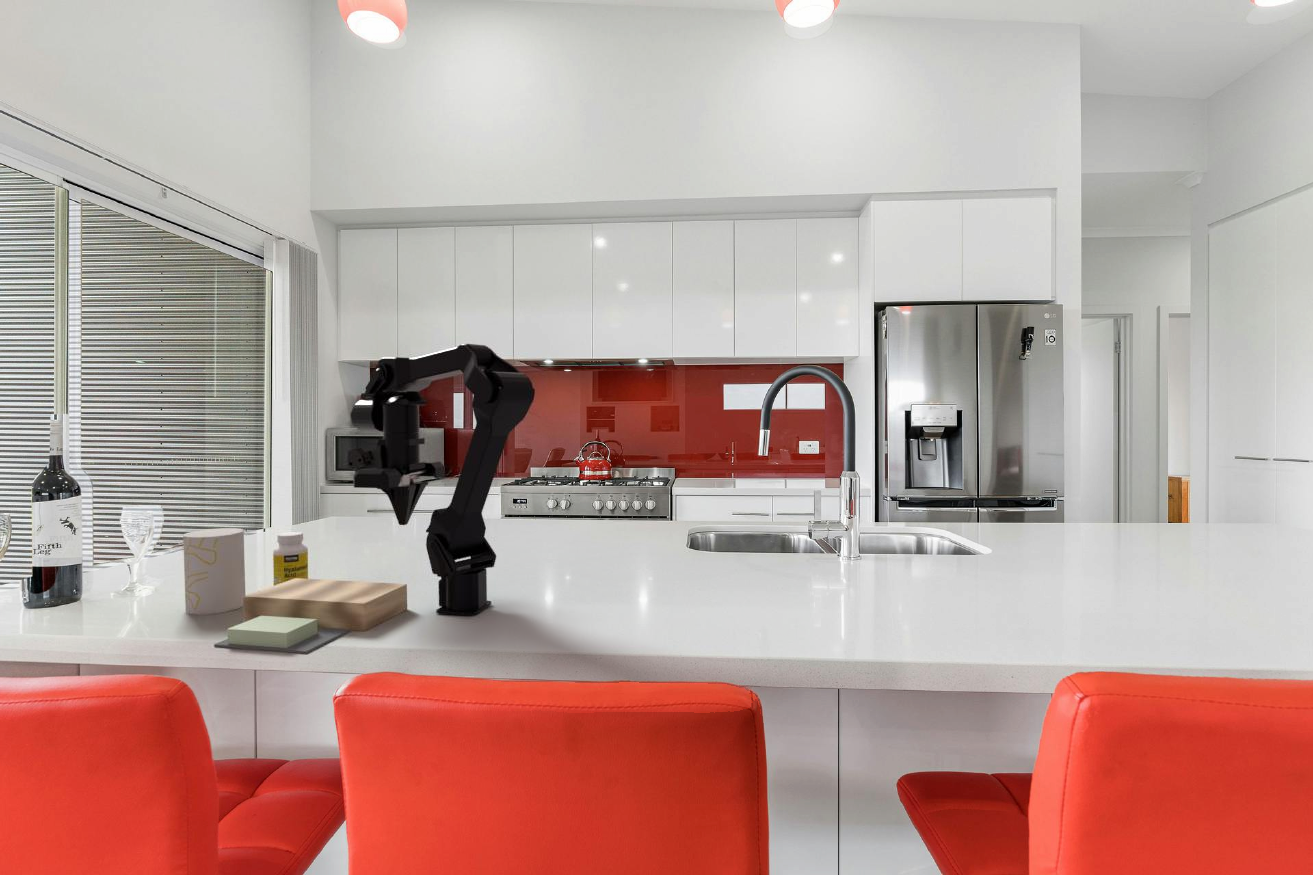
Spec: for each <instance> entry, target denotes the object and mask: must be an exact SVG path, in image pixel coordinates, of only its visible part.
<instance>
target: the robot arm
mask: <svg viewBox="0 0 1313 875" xmlns="http://www.w3.org/2000/svg"><path fill="white" fill-rule="evenodd" d="M373 369H374V370H373V371H372V372H373V373H372V374H371V377H370V380H369V381H368V382H367V384H366V386H365V388H364V389H365V391H364V392H361V395H360V396H361V397H360V400H358V401H357V402H356V403H355V404H354V405H353V407H352V410H351V411H350V418H351V419H350V421H351V422H352V425H354V427H355V428H356V429H358V430H360V431H361V432H375V433H376V432H377V433H380V432H382V433H383V434H382V435H383V436H382V438H379V439H377V441H376V445H375V446H376V448H374V449H372V450H366V451H365V450H364V449H363V448H362V447H359V448H358V447H357V448H353V449H349V450H347V455H346V462H347V464H346V467H347V468H348V469H350V470H351V471H352V470H354V474H353V476H352V478H353V479H352V482H353V488H356V489H357V488H359V489H361V488H362V489H364V488H365V489H378V490H381V491H382V492H383V493H384V494H385V495H386V496H387V497H388V499H389V501H390V504H391V506H392V509H393V511H394V515H395V517H396V519H397V522H398V524H399V526H406V525H408V524H409V521H410V518H411V517H412V515H413V512H414V510H415V508H416V506H417V504H418V502H419V500H420V498H421V496H422V494H423V492H424V490H425V488H426V487H427V486H429V482H428V481H422V477H433V478H435V479H439V478H440V479H441V478H445V477H446V466H445V465H444V464H443V462H441V461H440V460H439V461H438V460H437V461H435V460H434V461H430V460H429V461H428V460H425V461H424V460H422V461H421V451H420V450H421V448H420V447H421V446H420V445H425V444H426V443H425V440H426V438H425V437H420V406H426V405H427V404H428V402H427V400H426V399H425V398H424V397H422V395H420V393H419V392H420V391H422V390H425V389H426V388H428V387H429V386H430V384H432V382H433V381H437V380H442V379H446V378H451V377H452V378H453V377H456V376H461V375H462V376H463V384H464V386H465V387H466V388H467V389H468V391H470V393H471V394H472V395H473V397H472V401H471V402H472V403H471V407H472V411H473V415H474V418H475V422H476V424H475V428H474V431H473V434H472V437H471V439H470V443H469V446H468V449H467V451H466V452H467V453H466V454H465V455H466V456H465V458H464V461H463V465H462V468H461V471H460V474H459V475H458V476H459V477H458V479H457V483H456V486H455V489H454V493H453V494H452V495H453V496H452V498H451V501H450V503H449V505H448V506H447V507H445V508H438V509H434V511H433V512H432V513H431V518H430V523H429V525H428V527H427V529H426V530H425V533H427V536H426V539H425V540H426V542H425V547H426V551H427V555H428V559H429V564H430V567H431V572H432V574H433V575H436V577H439V578H440V579H439V580H438V584H437V585H438V606H439V608H437V609H436V614H441V615H442V614H443V615H444V614H445V615H460V616H461V615H463V616H476V615H477V614H479V613H480V612H482V611H483V610H485V609H486V608H488V607H489V606H491V605H492V601H491V600H488V591H487V590H488V582H487V577H488V576H487V569H488V568H490V569H491V568H494V567H495V564H496V560H497V554H496V553H495V551H494V549H493V548H492V546H491V545H490V544H489V542H488V540H487V538H486V537H485V535H486V529H487V527H486V523H485V520H484V517H483V511H484V508H485V504H486V501H487V498H488V496H489V494H490V490H491V488H492V484H493V482H494V477H495V475H496V472H497V469H498V467H499V463H500V461H501V457H502V455H503V452H504V449H505V446H506V442H507V440H508V437H509V435H510V433H511V432H512V431H513V430H514V429H515V428H516V427H517V426H518V425H519V424H520V423H521V422H522V421H523V420H524V419H525V418H526V415H527V414H528V412H529V409H530V408H531V406H532V404H533V402H534V399H535V395H536V391H535V390H536V389H535V388H534V387H533V382H532V380H531V378H530V377H529V376H528V375H527V374H525V373H524V372H521V371H520V370H519V369H518V368H517V367H516V366H514V365H513V364H511V363H509V362H508V361H507V360H505V359H503V358H502V357H501V356H498V355H497V353H496V352H494V350H492V348H490V347H488V346H487V345H484V344H476V343H475V344H474V343H463V344H460V345H457V346H456V347H453V348H452V347H451V348H448V349H445V350H440V351H438V352H437V351H436V352H433V353H429V354H425V355H422V356H421V355H420V356H417V357H394V356H384V357H382V358H380V359H379V360H378V361H377V365H375V367H374V368H373ZM466 558H467V559H466ZM457 560H458V561H457Z"/></svg>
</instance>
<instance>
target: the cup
mask: <svg viewBox="0 0 1313 875" xmlns="http://www.w3.org/2000/svg"><path fill="white" fill-rule="evenodd" d="M244 535H245V534H244V529H243V528H237V527H224V528H222V527H221V528H207V529H201V530H195V531H189V532H186V533H184V534H182V542H183V545H182V546H183V566H184V567H183V569H184V572H183V573H184V599H185V600H184V603H185V613H186V614H190V615H210V614H219V613H225V612H229V611H233V610H236V609H240V608H242V607H243V596H245V595H246V572H245V571H246V570H245V564H246V563H245V537H244Z"/></svg>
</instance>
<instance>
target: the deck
mask: <svg viewBox="0 0 1313 875" xmlns="http://www.w3.org/2000/svg"><path fill="white" fill-rule="evenodd" d="M242 607H243V608H242V612H243V623H244V622H246V621H249V620H251V619H254V618H257V617H259V616H274V617H290V618H306V619H317V627H322V628H337V629H350V631H354V630H355V632H357V631H358V632H367V631H368V630H370V629H372V628H374V627H376V626H378V625H379V623H380V624H381V622H382V623H383V621H384V622H385V621H388V620H389V619H392V618H393V617H395V616H397V615H399V614H401V613H402V612H405V611H407V610H408V583H394V582H393V583H392V582H376V581H375V582H373V581H372V582H371V581H359V580H358V581H357V580H355V581H354V580H352V581H351V580H339V579H338V580H336V579H333V580H332V579H317V578H308V579H300V578H295V579H292V580H289V581H286V582H283V583H280V584H277V585H275V586H274V585H271V586H269V587H266V588H263V589H259V590H257V591H254V592H251V593H248V594H245V596H243V606H242ZM404 610H405V611H404ZM377 624H378V625H377Z"/></svg>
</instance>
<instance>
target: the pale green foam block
mask: <svg viewBox="0 0 1313 875" xmlns="http://www.w3.org/2000/svg"><path fill="white" fill-rule="evenodd" d="M226 631H227V639H228V644H239V645H253V646H266V647H280V648H288V647H290V646H292V645H294V644H296V643H298V642H300V641H303V640H305V639H307V638H309V637H311V636H313V635H315V634H317V633H318V631H317V619H306V618H290V617H274V616H259V617H257V618H254V619H251V620H249V621H246V622H244V621H243V622H242V623H238V624H236V625H234V626H231V627H229V628H227V630H226Z"/></svg>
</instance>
